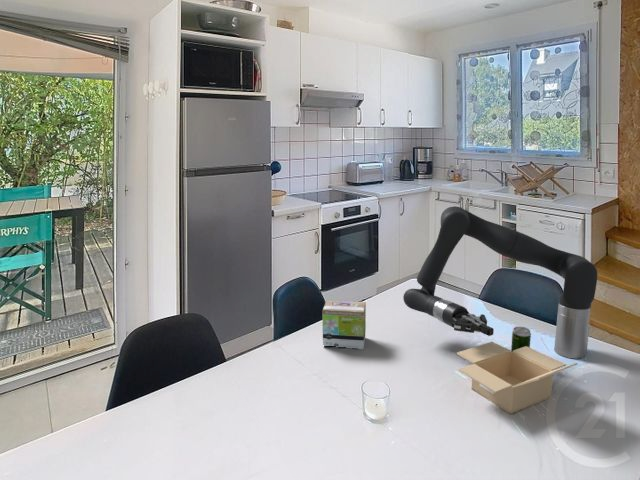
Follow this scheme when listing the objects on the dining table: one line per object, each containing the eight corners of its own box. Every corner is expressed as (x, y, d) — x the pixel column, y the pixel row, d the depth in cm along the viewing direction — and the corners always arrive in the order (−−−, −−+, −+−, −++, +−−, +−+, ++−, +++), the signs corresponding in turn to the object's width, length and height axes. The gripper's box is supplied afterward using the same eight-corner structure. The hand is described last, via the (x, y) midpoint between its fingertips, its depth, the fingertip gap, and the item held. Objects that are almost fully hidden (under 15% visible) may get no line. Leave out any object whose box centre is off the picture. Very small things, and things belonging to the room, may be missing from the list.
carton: (504, 360, 143) (506, 336, 141) (564, 391, 125) (567, 364, 123) (439, 383, 131) (440, 357, 129) (495, 421, 113) (497, 392, 111)
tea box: (322, 348, 156) (321, 309, 153) (326, 336, 166) (325, 299, 162) (364, 350, 153) (364, 311, 150) (366, 337, 163) (365, 300, 160)
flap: (552, 370, 120) (577, 362, 113) (553, 372, 120) (577, 364, 113) (514, 385, 114) (538, 377, 107) (515, 386, 113) (539, 379, 107)
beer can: (522, 370, 137) (524, 335, 134) (506, 363, 141) (509, 329, 139) (531, 365, 140) (534, 330, 137) (516, 358, 144) (518, 325, 142)
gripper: (434, 306, 140) (475, 325, 125) (465, 298, 146) (508, 316, 130) (434, 328, 141) (474, 349, 126) (464, 319, 147) (506, 339, 132)
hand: (491, 332), depth 128 cm, fingers closed
